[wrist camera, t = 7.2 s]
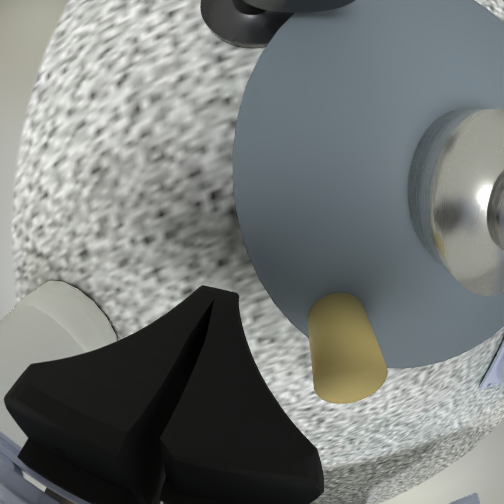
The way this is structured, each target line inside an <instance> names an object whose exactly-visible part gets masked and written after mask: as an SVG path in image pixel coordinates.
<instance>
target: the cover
mask: <svg viewBox="0 0 504 504" xmlns="http://www.w3.org/2000/svg"><path fill="white" fill-rule="evenodd" d="M407 187H408V207H409V213H410V217H411V221H412V224H413V227H414V230H415V232H416V234H417V236H418V238H419V240H420V241H421V243H422V244H423V246H424V247H425V248H426V249H427V250H428V252H429V253H430V254H431V255H433V256H434V257H435V258H436V259H437V260H438V261H439V262H440V263H441V264H442V265H443V266H444V267H445V268H446V269H447V270H448V271H449V272H450V273H451V274H452V275H453V276H454V277H455V278H456V279H457V280H458V281H459V282H460V283H461V284H462V285H463V286H464V287H465V288H466V289H467V290H469V291H471V292H472V293H475V294H478V295H483V296H492V295H497V294H501V293H503V292H504V109H457V110H453V111H450V112H448V113H445V114H443V115H442V116H440V117H439V118H437V119H436V120H435V121H434V122H433V123H432V124H431V125H430V126H429V127H428V128H427V130H426V131H425V132H424V134H423V135H422V137H421V139H420V141H419V142H418V145H417V147H416V149H415V152H414V154H413V158H412V161H411V165H410V170H409V176H408V186H407Z"/></svg>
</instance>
